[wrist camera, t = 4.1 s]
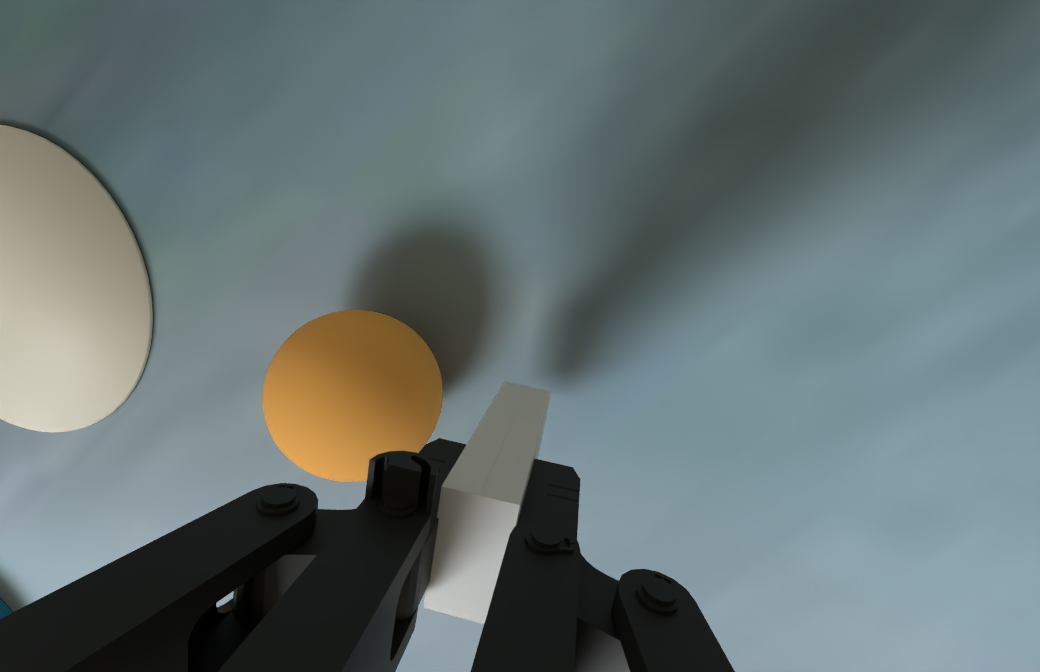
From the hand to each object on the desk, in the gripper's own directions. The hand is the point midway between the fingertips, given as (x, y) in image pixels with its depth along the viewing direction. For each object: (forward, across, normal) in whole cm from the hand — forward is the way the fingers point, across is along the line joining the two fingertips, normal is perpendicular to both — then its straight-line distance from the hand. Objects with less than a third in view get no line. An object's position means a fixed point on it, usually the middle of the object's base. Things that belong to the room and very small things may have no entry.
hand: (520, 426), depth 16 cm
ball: (0, +5, 0) cm, 5 cm away
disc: (+3, +22, 0) cm, 23 cm away
